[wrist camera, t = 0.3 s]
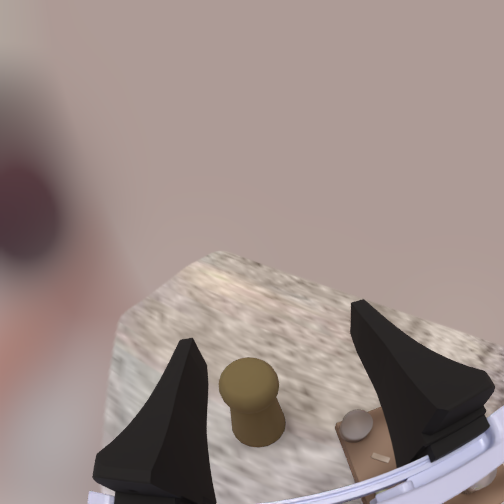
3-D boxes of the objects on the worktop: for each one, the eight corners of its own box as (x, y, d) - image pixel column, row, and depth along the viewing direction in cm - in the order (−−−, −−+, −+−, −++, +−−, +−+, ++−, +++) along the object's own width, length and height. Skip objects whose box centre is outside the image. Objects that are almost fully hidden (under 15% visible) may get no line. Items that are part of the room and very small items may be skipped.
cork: (284, 400, 31) (282, 345, 25) (286, 446, 26) (284, 405, 20) (233, 402, 31) (214, 347, 25) (229, 447, 26) (206, 405, 20)
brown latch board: (507, 493, 11) (525, 485, 9) (387, 573, 10) (398, 576, 8) (445, 378, 28) (455, 363, 26) (333, 427, 27) (337, 415, 25)
